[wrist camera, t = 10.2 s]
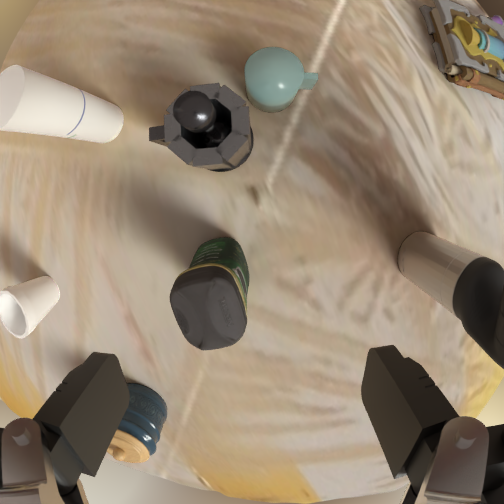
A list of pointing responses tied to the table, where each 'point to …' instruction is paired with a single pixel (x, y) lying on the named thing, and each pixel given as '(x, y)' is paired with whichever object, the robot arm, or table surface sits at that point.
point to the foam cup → (27, 304)
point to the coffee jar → (213, 295)
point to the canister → (139, 426)
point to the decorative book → (467, 46)
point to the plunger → (200, 117)
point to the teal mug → (275, 79)
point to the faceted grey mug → (191, 143)
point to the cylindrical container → (54, 108)
